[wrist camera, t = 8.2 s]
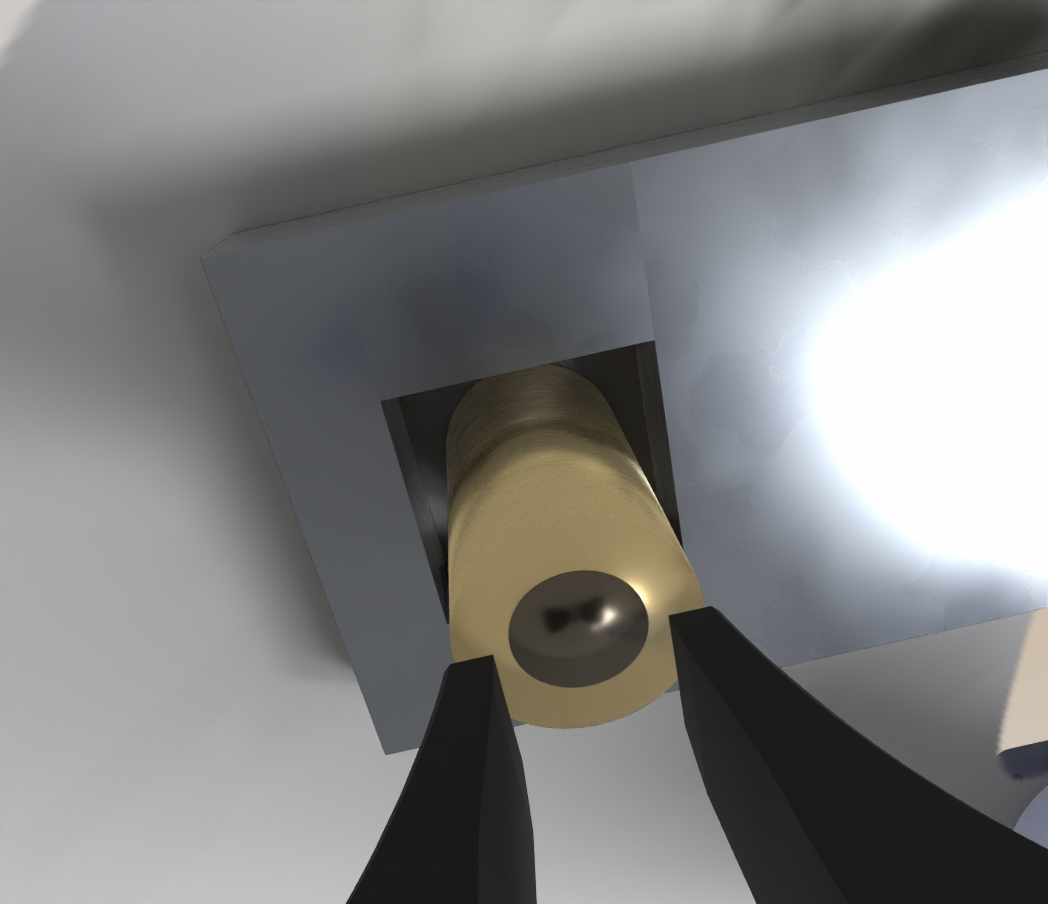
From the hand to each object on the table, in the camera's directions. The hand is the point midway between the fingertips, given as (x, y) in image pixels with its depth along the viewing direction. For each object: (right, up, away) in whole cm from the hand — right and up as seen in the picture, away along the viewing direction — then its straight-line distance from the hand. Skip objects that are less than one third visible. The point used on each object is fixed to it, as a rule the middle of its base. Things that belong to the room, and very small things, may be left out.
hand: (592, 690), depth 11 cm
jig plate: (+3, +4, +8) cm, 9 cm away
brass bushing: (-1, +4, +8) cm, 8 cm away
